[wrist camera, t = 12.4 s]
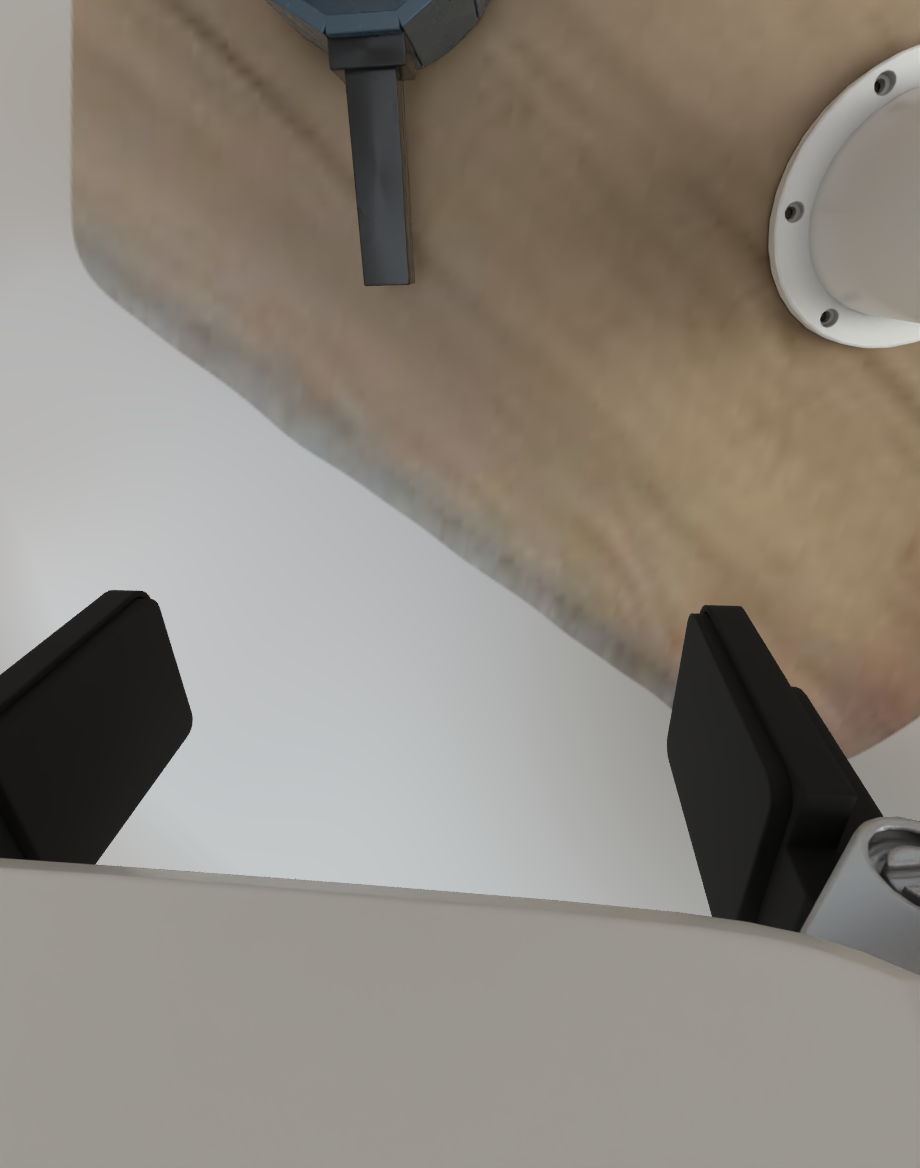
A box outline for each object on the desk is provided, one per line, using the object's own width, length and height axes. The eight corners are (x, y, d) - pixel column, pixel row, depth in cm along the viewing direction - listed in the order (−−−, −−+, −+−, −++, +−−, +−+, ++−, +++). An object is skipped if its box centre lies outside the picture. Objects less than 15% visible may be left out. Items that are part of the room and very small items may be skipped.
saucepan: (517, -323, 23) (513, -502, 18) (511, 278, 33) (507, 282, 27) (228, -285, 24) (142, -441, 19) (305, 284, 34) (262, 289, 29)
